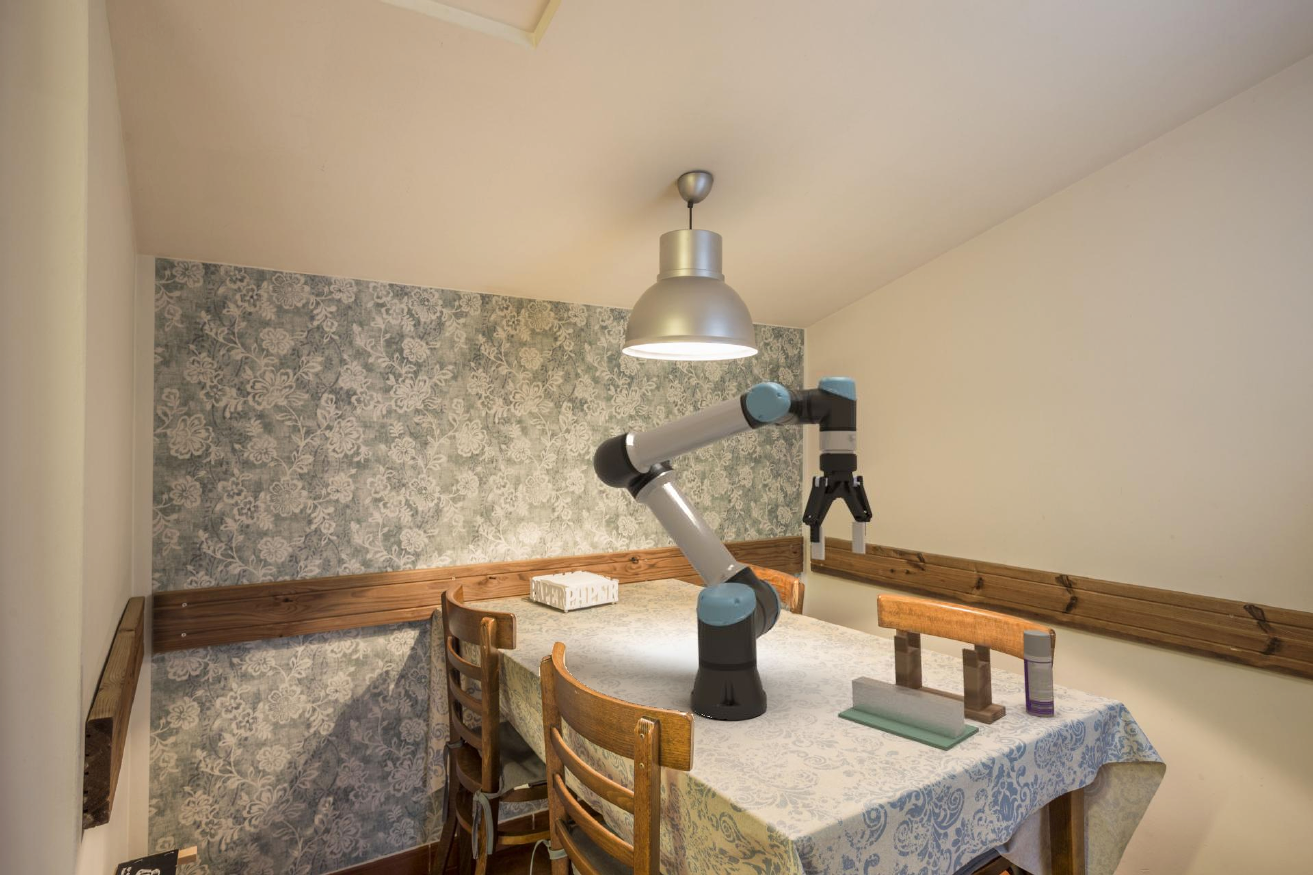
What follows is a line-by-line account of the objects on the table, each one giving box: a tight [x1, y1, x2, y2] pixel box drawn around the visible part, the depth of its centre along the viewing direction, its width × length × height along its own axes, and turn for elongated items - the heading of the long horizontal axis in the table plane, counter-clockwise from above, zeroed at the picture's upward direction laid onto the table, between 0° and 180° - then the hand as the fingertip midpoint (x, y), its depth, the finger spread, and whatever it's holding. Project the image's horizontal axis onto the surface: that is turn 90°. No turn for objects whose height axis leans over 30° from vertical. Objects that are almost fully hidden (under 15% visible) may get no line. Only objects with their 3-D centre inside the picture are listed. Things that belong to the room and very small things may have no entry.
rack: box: [893, 630, 1007, 725], centre depth 132 cm, size 7×21×12 cm, turn 41°
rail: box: [851, 675, 966, 739], centre depth 123 cm, size 4×20×5 cm, turn 41°
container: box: [1022, 629, 1055, 718], centre depth 127 cm, size 5×5×15 cm
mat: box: [837, 706, 980, 752], centre depth 123 cm, size 12×21×1 cm, turn 41°
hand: (839, 556), depth 138 cm, fingers open, 13 cm apart
